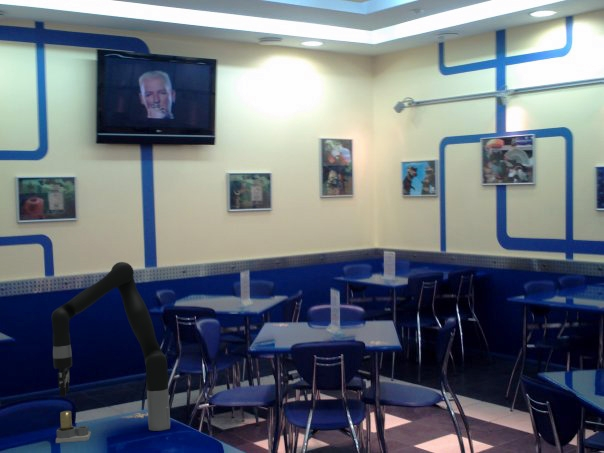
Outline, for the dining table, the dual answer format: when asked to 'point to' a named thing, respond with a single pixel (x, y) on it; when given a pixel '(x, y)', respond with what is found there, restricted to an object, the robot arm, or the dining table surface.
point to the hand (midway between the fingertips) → (64, 394)
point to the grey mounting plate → (73, 434)
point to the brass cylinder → (66, 420)
